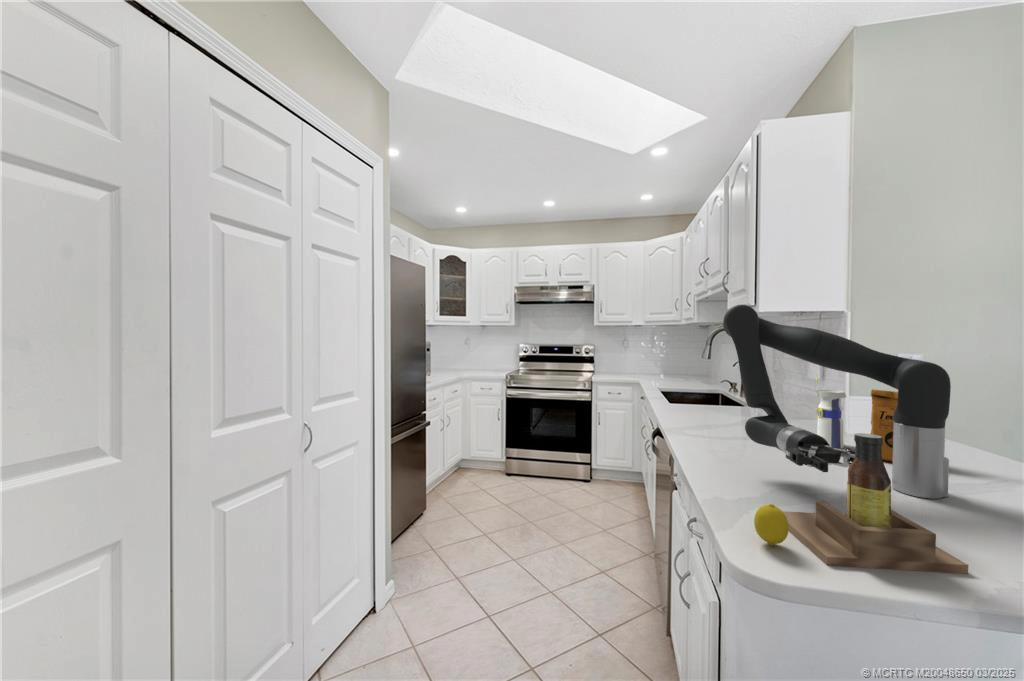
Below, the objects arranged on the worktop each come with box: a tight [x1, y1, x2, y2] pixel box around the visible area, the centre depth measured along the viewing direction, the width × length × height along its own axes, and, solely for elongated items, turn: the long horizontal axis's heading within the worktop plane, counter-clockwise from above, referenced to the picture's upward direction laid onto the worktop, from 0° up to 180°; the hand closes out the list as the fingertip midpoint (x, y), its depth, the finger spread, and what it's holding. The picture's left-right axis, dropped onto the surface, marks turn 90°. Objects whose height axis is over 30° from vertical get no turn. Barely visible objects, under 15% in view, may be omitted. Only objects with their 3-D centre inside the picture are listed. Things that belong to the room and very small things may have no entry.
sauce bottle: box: [846, 432, 892, 528], centre depth 76 cm, size 6×6×20 cm
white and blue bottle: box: [815, 373, 847, 449], centre depth 144 cm, size 8×9×25 cm
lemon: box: [753, 503, 789, 546], centre depth 78 cm, size 6×6×8 cm
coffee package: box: [870, 388, 898, 463], centre depth 127 cm, size 10×12×22 cm
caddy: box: [782, 500, 969, 575], centre depth 79 cm, size 22×18×6 cm
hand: (849, 468), depth 82 cm, fingers open, 8 cm apart
